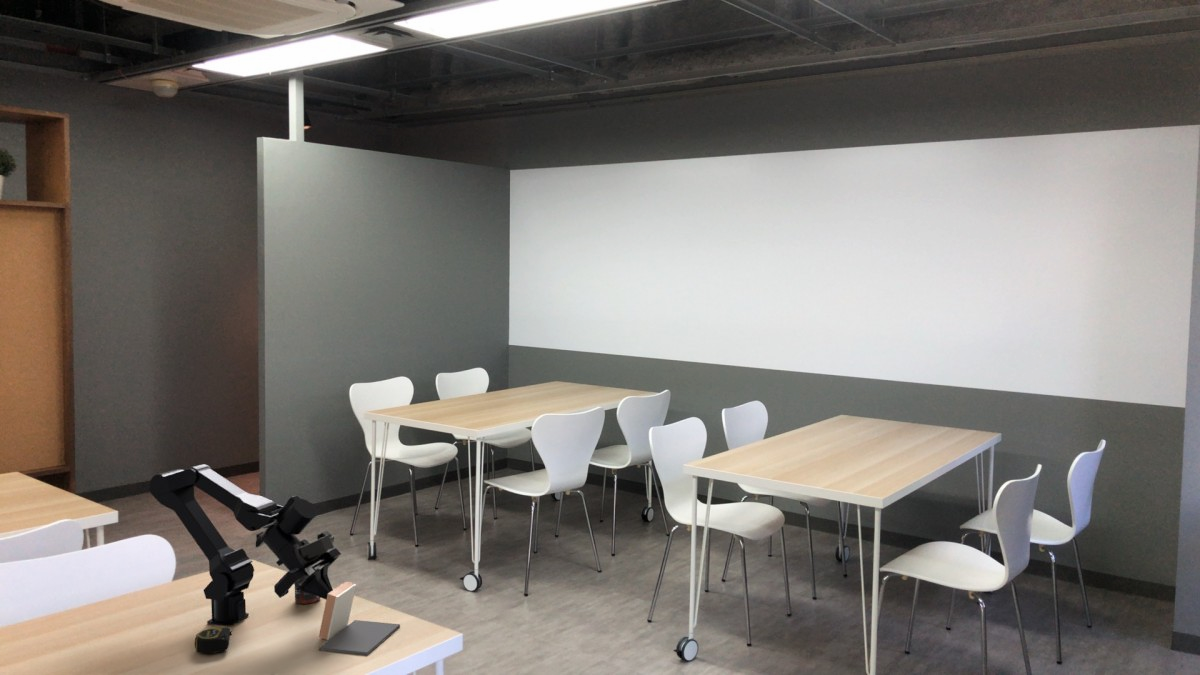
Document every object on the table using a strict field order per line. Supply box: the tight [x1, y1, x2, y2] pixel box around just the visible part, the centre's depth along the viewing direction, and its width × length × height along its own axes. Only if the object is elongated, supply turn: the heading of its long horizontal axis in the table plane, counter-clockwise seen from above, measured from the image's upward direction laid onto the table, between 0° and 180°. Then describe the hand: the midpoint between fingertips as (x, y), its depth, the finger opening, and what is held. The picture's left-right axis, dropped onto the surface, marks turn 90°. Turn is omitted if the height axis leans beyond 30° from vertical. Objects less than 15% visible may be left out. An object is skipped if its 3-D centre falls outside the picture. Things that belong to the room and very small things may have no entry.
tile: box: [318, 581, 357, 641], centre depth 186 cm, size 2×8×10 cm, turn 168°
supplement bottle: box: [294, 582, 321, 605], centre depth 205 cm, size 6×6×11 cm
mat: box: [318, 619, 401, 656], centre depth 184 cm, size 11×15×1 cm
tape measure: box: [194, 626, 233, 655], centre depth 178 cm, size 7×7×4 cm
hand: (333, 599), depth 186 cm, fingers closed
